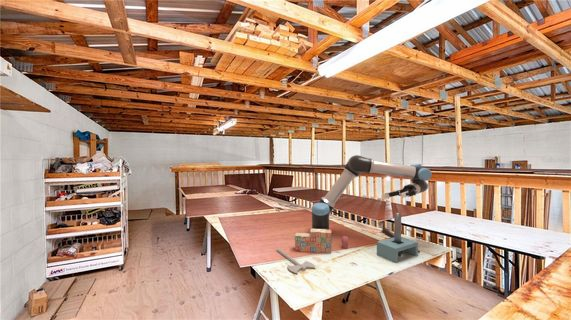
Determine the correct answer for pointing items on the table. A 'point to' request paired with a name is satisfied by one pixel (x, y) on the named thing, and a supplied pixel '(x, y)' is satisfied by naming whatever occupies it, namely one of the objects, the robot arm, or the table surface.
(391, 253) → the bridge
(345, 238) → the short pin
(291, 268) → the axe
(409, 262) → the table surface
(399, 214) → the long pin
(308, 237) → the stack of blocks
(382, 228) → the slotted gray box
